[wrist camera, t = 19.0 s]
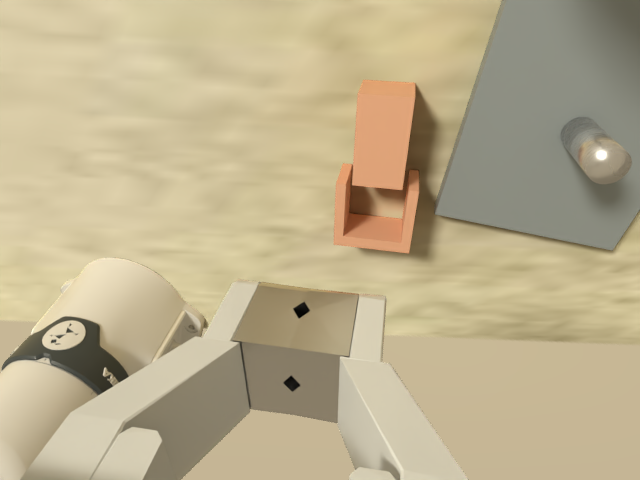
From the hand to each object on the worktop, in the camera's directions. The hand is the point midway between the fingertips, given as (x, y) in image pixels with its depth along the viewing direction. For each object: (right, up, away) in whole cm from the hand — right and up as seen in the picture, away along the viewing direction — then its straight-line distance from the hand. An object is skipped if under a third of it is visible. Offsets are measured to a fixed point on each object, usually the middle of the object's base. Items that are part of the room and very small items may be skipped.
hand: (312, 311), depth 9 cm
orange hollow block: (+5, +8, +28) cm, 30 cm away
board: (+19, +12, +22) cm, 32 cm away
